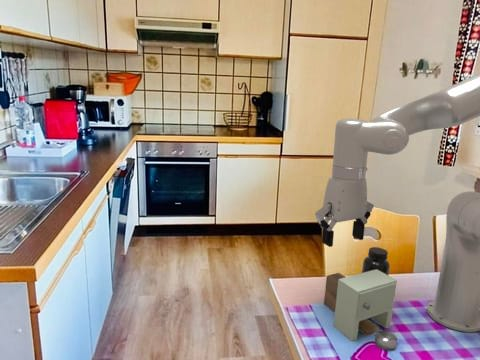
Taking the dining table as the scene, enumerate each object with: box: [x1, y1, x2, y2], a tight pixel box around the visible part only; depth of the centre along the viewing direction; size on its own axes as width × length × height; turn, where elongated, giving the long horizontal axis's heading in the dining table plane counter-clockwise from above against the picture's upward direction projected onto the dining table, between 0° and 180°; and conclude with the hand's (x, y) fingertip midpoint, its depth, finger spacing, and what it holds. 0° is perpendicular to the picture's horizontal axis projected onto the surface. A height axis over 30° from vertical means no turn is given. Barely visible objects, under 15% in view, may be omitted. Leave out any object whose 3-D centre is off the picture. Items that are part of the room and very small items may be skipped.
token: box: [374, 330, 398, 352], centre depth 85 cm, size 4×4×2 cm
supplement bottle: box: [361, 246, 391, 276], centre depth 106 cm, size 7×7×12 cm
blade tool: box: [323, 272, 380, 337], centre depth 94 cm, size 4×14×8 cm, turn 28°
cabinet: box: [333, 269, 398, 342], centre depth 89 cm, size 12×7×12 cm, turn 118°
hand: (342, 241), depth 95 cm, fingers open, 9 cm apart
